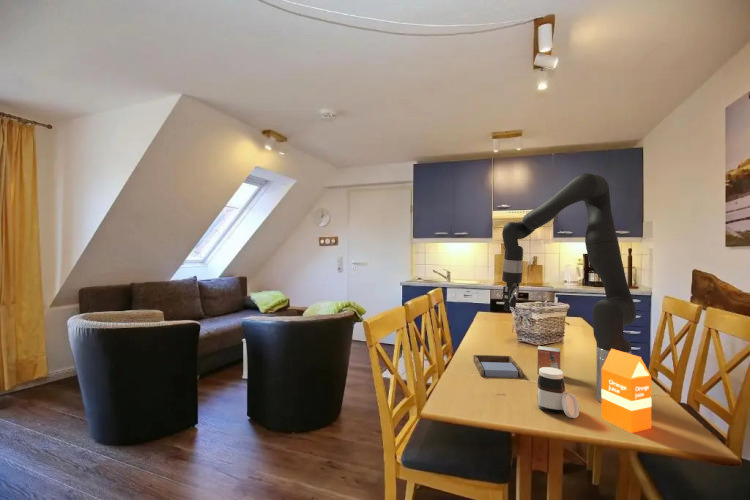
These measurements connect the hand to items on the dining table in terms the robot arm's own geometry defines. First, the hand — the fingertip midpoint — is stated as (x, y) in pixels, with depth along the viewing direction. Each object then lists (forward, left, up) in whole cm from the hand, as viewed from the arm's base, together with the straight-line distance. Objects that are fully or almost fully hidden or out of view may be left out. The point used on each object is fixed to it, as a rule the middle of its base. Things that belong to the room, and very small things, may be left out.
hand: (509, 309), depth 147 cm
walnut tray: (-7, +7, -24) cm, 26 cm away
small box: (-10, -12, -24) cm, 29 cm away
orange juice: (-46, -20, -24) cm, 55 cm away
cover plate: (-11, +7, -23) cm, 26 cm away
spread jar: (-40, -4, -24) cm, 47 cm away
